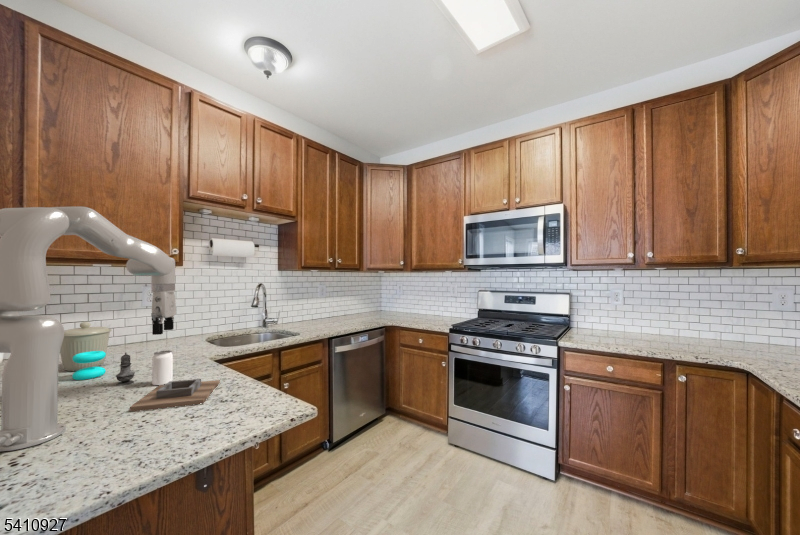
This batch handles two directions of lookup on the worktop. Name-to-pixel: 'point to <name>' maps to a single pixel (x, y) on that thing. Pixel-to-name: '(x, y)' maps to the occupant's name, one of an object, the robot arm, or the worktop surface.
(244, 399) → the worktop surface
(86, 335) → the canister
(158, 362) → the can
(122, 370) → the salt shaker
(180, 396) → the socket board
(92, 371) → the donuts
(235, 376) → the worktop surface
